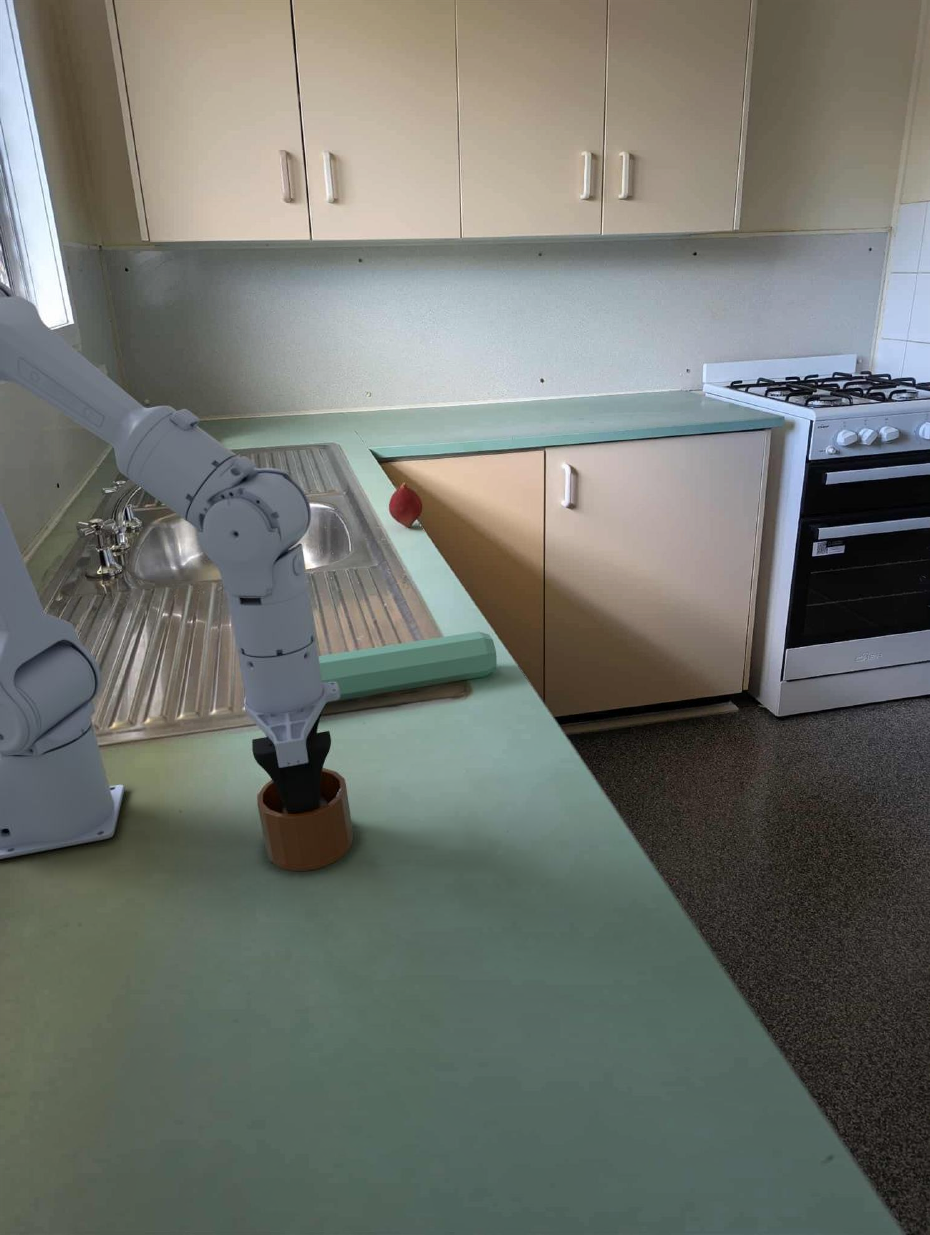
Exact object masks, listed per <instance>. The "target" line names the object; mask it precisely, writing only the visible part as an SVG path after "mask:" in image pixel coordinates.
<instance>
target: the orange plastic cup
mask: <svg viewBox="0 0 930 1235" xmlns="http://www.w3.org/2000/svg"><path fill="white" fill-rule="evenodd" d="M320 796H322V797H324V798H325V799H326V800H327V802H328V804H327V805H325V806H323V807H320V808H318V809H316V810H313V811H310V812H304V813H299V814H282V810H283V807H284V804H283V802H282V799H281V797H280V794H279V792H278V790H277V788H276V786H275V784H274V782H273V780H272V779H271V780H269V781H268V782H266V783H265V784H264V785H263V786H262V787H261V789H260V790H259V791H258V793H257V796H256V801H257V802H256V803H257V810H258V816H259V820H260V823H261V830H262V835H263V839H264V846H265V852H266V853H267V857H268V859H269V860H270V861H271V862H272V864H273V865H275V866H276V867H278V868H280V869H283V870H287V871H292V872H293V871H294V872H305V871H306V872H307V871H314V870H318V869H321V868H324V867H327V866H329V865H332V864H333V863H336V862H337V861H338V860H340V859H341V858H342V857H344V856H345V855H346V854H347V853H348V851H350V849H351V847H352V845H353V842H354V830H353V824H352V816H351V809H350V802H349V795H348V789H347V783H346V779H345V778H344V777H343V776H342V775H341V773H339V772H337V771H335V770H332V769H328V768H325V767H323V769H322V774H321V784H320Z"/></svg>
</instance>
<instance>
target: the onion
mask: <svg viewBox="0 0 930 1235" xmlns="http://www.w3.org/2000/svg"><path fill="white" fill-rule="evenodd" d="M388 511H389V514H390V516H391V517H392V519H393V520H394V521H396V522H397V523H399V524H401V525H402V526H404V527H405V528H411V527H412V525H413V524H414V523H415V522H416V521H417V520H418V519H419V517H420V516H421V514H422V512H423V501H422V499H421V497H420V496H419V494H418V493H416V491H414V490H413V489H412V488H410V487H408V485H407V482H402V484H401V485H400V486H399V487H398V489H396V490H395V491H394V492H393V494H392V495H391V497H390V499H389V503H388Z"/></svg>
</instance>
